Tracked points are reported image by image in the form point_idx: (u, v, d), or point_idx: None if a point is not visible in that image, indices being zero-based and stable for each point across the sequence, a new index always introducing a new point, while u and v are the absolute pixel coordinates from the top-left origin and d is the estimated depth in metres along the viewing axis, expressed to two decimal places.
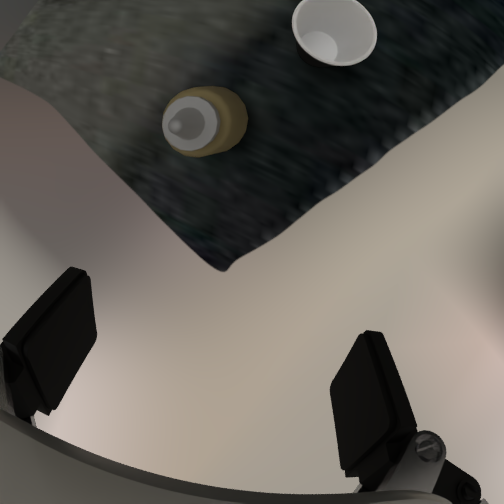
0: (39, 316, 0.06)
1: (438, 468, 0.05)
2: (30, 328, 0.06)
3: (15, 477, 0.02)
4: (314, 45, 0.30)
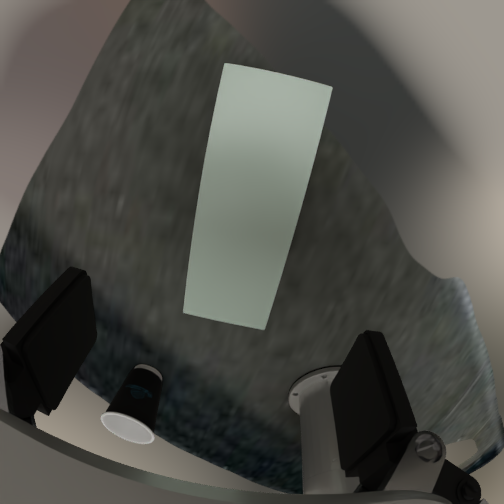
0: (39, 316, 0.06)
1: (438, 468, 0.05)
2: (30, 328, 0.06)
3: (15, 477, 0.02)
4: None
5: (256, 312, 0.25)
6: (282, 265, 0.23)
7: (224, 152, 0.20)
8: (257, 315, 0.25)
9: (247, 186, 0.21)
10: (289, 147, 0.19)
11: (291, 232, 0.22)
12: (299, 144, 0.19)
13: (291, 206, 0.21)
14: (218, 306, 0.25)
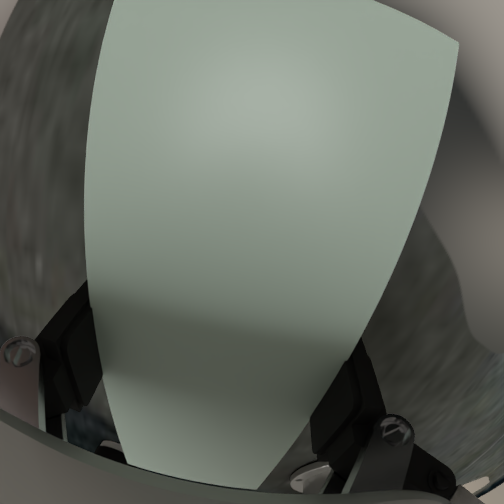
0: (76, 312, 0.07)
1: (408, 451, 0.05)
2: (68, 324, 0.06)
3: (15, 477, 0.02)
4: None
5: (242, 478, 0.12)
6: (289, 442, 0.10)
7: (129, 237, 0.06)
8: (244, 480, 0.12)
9: (204, 326, 0.07)
10: (331, 223, 0.06)
11: (313, 405, 0.09)
12: (362, 213, 0.06)
13: (320, 366, 0.08)
14: (179, 468, 0.12)
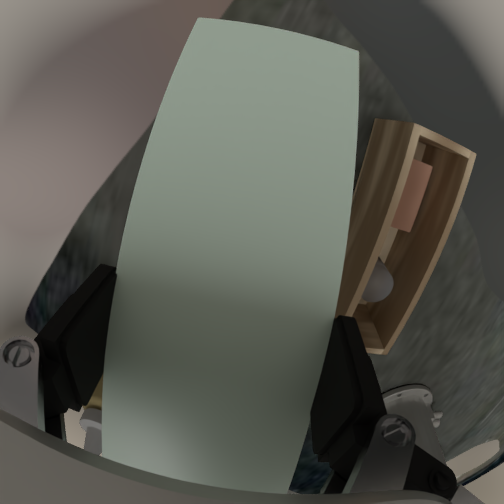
0: (75, 312, 0.07)
1: (409, 451, 0.05)
2: (68, 324, 0.06)
3: (15, 477, 0.02)
4: None
5: (261, 487, 0.09)
6: (316, 381, 0.09)
7: (185, 133, 0.10)
8: (263, 491, 0.09)
9: (231, 199, 0.10)
10: (310, 125, 0.10)
11: (332, 301, 0.10)
12: (326, 121, 0.10)
13: (327, 240, 0.10)
14: None
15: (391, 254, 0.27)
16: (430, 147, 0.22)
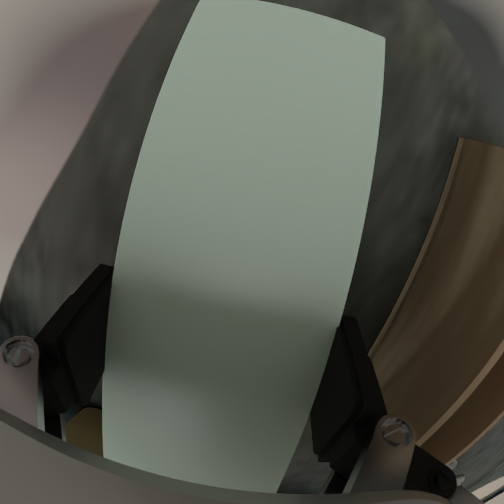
0: (75, 312, 0.07)
1: (410, 451, 0.05)
2: (67, 324, 0.06)
3: (15, 477, 0.02)
4: None
5: (252, 485, 0.09)
6: (312, 396, 0.09)
7: (185, 130, 0.09)
8: (254, 489, 0.09)
9: (233, 208, 0.09)
10: (325, 124, 0.09)
11: (334, 320, 0.09)
12: (344, 120, 0.09)
13: (335, 257, 0.09)
14: (171, 474, 0.09)
15: None
16: None
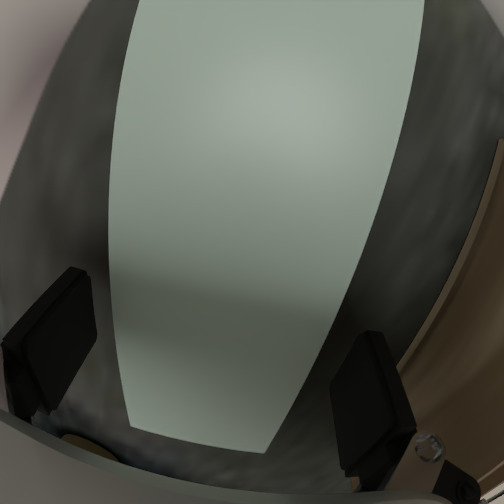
0: (39, 316, 0.06)
1: (438, 468, 0.05)
2: (30, 328, 0.06)
3: (15, 477, 0.02)
4: None
5: (250, 437, 0.13)
6: (300, 382, 0.11)
7: (154, 142, 0.07)
8: (252, 439, 0.13)
9: (218, 230, 0.08)
10: (330, 125, 0.07)
11: (324, 329, 0.09)
12: (356, 118, 0.07)
13: (329, 276, 0.08)
14: (184, 427, 0.13)
15: None
16: None
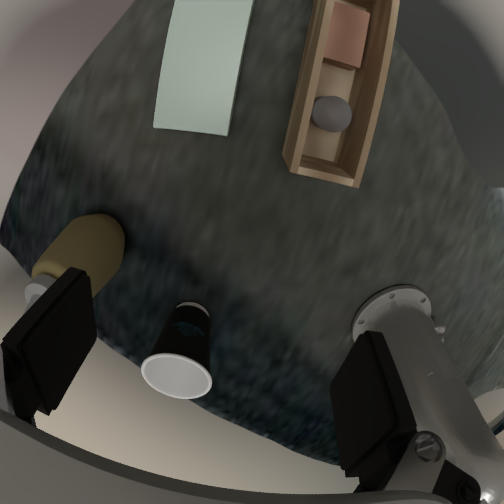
0: (39, 316, 0.06)
1: (438, 468, 0.05)
2: (29, 328, 0.06)
3: (15, 477, 0.02)
4: None
5: (218, 116, 0.26)
6: (237, 68, 0.24)
7: None
8: (219, 119, 0.26)
9: (206, 13, 0.21)
10: None
11: (242, 41, 0.22)
12: None
13: (240, 23, 0.21)
14: (184, 114, 0.26)
15: (350, 102, 0.25)
16: (369, 7, 0.20)
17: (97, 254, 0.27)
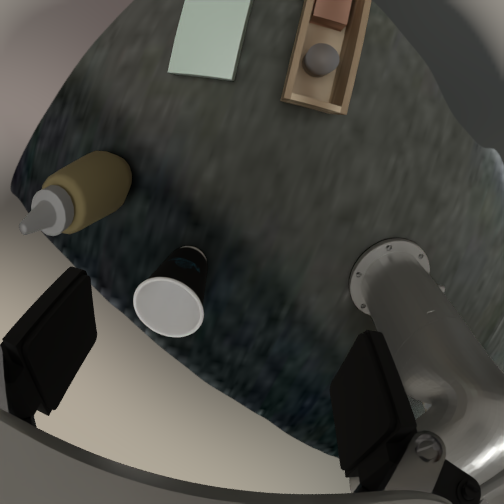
0: (39, 316, 0.06)
1: (438, 468, 0.05)
2: (30, 328, 0.06)
3: (15, 477, 0.02)
4: None
5: (224, 63, 0.27)
6: (242, 25, 0.25)
7: None
8: (225, 65, 0.28)
9: None
10: None
11: (247, 4, 0.24)
12: None
13: None
14: (195, 61, 0.27)
15: (340, 56, 0.27)
16: None
17: (105, 177, 0.28)
